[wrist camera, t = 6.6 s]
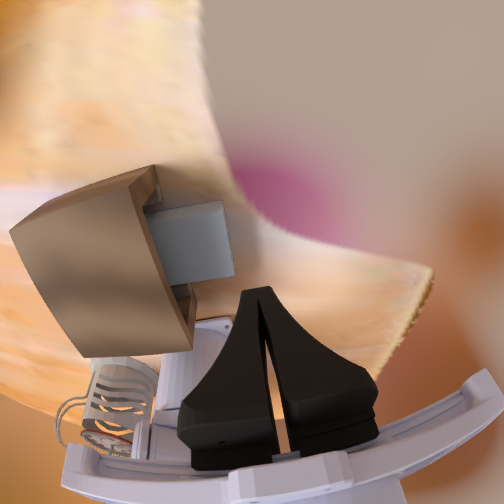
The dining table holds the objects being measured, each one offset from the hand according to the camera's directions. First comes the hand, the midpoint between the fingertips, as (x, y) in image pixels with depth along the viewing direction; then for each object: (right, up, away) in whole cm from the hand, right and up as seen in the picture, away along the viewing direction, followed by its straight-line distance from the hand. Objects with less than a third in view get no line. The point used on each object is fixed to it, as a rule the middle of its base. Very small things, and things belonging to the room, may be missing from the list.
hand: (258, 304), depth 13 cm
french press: (-17, -13, +16) cm, 26 cm away
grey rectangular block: (-6, +4, +8) cm, 10 cm away
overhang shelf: (-11, +2, +7) cm, 13 cm away
